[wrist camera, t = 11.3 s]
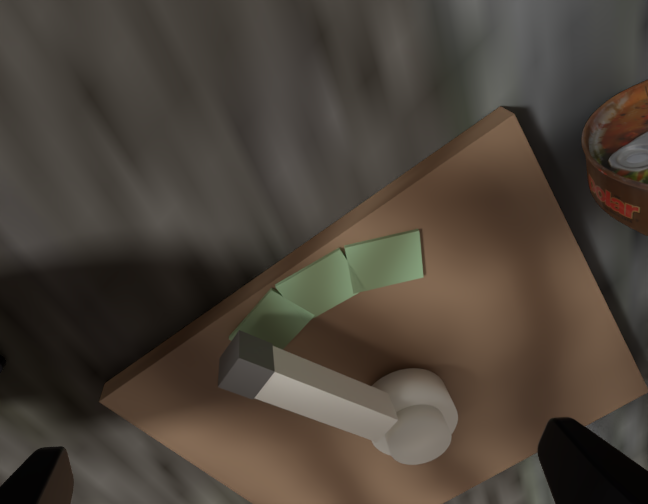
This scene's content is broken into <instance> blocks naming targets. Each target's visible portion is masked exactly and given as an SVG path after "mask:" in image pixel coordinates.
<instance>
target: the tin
mask: <svg viewBox="0 0 648 504" xmlns="http://www.w3.org/2000/svg"><path fill="white" fill-rule="evenodd" d="M581 140H582V148H583V151H584V153H585V155H586V166H587V177H588V183H589V188H590V191H591V194H592V196H593V198H594V199H595V201H596V202H597V203H598V205H599V206H600V207H601V208H602V209H603V210H604V211H605V212H606V213H608V214H609V215H610V216H612V217H613V218H614V219H616V220H618V221H619V222H621V223H623V224H625V225H627V226H628V227H630V228H632V229H634V230H636V231H638V232H640V233H642V234H644V235H646V236H648V80H646V81H644V82H641V83H639V84H637V85H634V86H632V87H630V88H628V89H626V90H624V91H622V92H620V93H618V94H617V95H615V96H614V97H612V98H611V99H609V100H608V101H607V102H605V103H604V104H603V105H601V106H600V107H599V108H598V109H597V110H596V111H595V112H594V113H593V114H592V115H591V117H590V118H589V119H588V121H587V122H586V124H585V126H584V129H583V132H582V138H581Z"/></svg>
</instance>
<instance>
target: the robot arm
mask: <svg viewBox="0 0 648 504" xmlns="http://www.w3.org/2000/svg"><path fill="white" fill-rule="evenodd" d="M5 365H6V360H5V358H4V357H3V356H2V355H0V373H1V371H2V370H3V368H4V367H5ZM537 453H538V457H539V461H540V463H541V466H542V469H543V471H544V474H545V477H546V479H547V482H548V485H549V488H550V490H551V493H552V496H553V498H554V501H555V504H648V471H647V470H646V469H644V468H643V467H641V466H640V465H638V464H637V463H636V462H634V461H633V460H631V459H630V458H629V457H627V456H626V455H624V454H623V453H622V452H620V451H619V450H617V449H616V448H614V447H613V446H612V445H610V444H609V443H607V442H606V441H605V440H603V439H602V438H600V437H599V436H598V435H596V434H595V433H593V432H592V431H590V430H589V429H588V428H586V427H585V426H583V425H582V424H581V423H579V422H578V421H576V420H575V419H573V418H570V417H556V418H551V419H550V420H549V421H548V422H547V424H546V427H545V429H544V431H543V433H542V436H541V438H540V440H539V443H538V447H537ZM73 485H74V480H73V474H72V470H71V466H70V462H69V458H68V454H67V451H66V449H65V448H64V447H44V448H40V449H38V450H36V451H35V452H34V453H33V454H32V455H31V456H30V457H29V458H28V459H27V460H26V461H25V462H24V463H23V464H22V465H21V466H20V467H19V468H18V469H17V470H16V471H15V472H14V473H13V474H12V475H11V476H10V477H9V478H8V479H7V480H6V481H5V482H4V483H3V484H2V485H1V486H0V504H70V503H71V498H72V493H73Z"/></svg>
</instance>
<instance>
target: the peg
mask: <svg viewBox="0 0 648 504" xmlns="http://www.w3.org/2000/svg"><path fill="white" fill-rule="evenodd" d="M218 387H219V388H222V389H225V390H227V391H230V392H233V393H236V394H239V395H241V396H244V397H247V398H250V399H254V398H255V399H258V400H261V401H263V402H266V403H269V404H272V405H275V406H277V407H280V408H283V409H286V410H289V411H291V412H294V413H297V414H300V415H302V416H305V417H308V418H311V419H314V420H316V421H319V422H322V423H325V424H328V425H330V426H333V427H336V428H339V429H341V430H344V431H347V432H350V433H353V434H355V435H358V436H361V437H364V438H366V439H369V440H371V441H372V443H373V445H374V446H375V447H376V448H377V449H378V450H379V451H381V452H383V453H385V454H387V455H391V456H392V457H393V459H395V460H396V461H398V462H400V463H402V464H407V465H417V464H423V463H426V462H429V461H432V460H434V459H436V458H437V457H439V456H440V455H441V454H443V453H444V452H445V451H446V450H447V448H448V447H449V445H450V443H451V437H452V436H451V434H452V433H453V432H454V430H455V428H456V425H457V422H458V413H457V410H456V407H455V405H454V403H453V401H452V399H451V397H450V395H449V393H448V391H447V389H446V387H445V385H444V383H443V381H442V379H441V378H440V377H439V376H437V375H436V374H435V373H433V372H431V371H428V370H425V369H418V368H409V369H402V370H398V371H395V372H392V373H390V374H388V375H386V376H384V377H382V378H381V379H379V380H378V381H377V382H375V383H374V384H373V385H372V386H369V385H367V384H365V383H362V382H360V381H357V380H355V379H352V378H350V377H348V376H345V375H343V374H340V373H338V372H335V371H333V370H331V369H328V368H326V367H323V366H321V365H318V364H316V363H314V362H311V361H309V360H306V359H304V358H301V357H299V356H297V355H294V354H292V353H289V352H287V351H284V350H282V349H280V348H277V347H275V346H273V344H272V343H269V342H267V341H265V340H262V339H260V338H257V337H255V336H252V335H250V334H248V333H245V332H243V331H240V330H239V331H238V332H237V334H236V335H235V337H234V338H233V340H232V341H231V342H230V344H229V345H228V347H227V348H226V349H225V351H224V352H223V354H222V355H221V357H220V358H219V375H218Z"/></svg>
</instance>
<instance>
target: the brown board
mask: <svg viewBox="0 0 648 504" xmlns="http://www.w3.org/2000/svg"><path fill="white" fill-rule="evenodd" d="M239 330H240V331H243V332H245V333H248V334H250V335H252V336H255V337H257V338H260V339H262V340H265V341H267V342H269V343H272V344H273V346H275V347H277V348H280V349H282V350H284V351H287V352H289V353H292V354H294V355H297V356H299V357H301V358H304V359H306V360H309V361H311V362H314V363H316V364H318V365H321V366H323V367H326V368H328V369H331V370H333V371H335V372H338V373H340V374H343V375H345V376H348V377H350V378H352V379H355V380H357V381H360V382H362V383H365V384H367V385H369V386H372V385H373V384H374V383H375V382H377V381H378V380H379V379H381V378H382V377H384V376H386V375H388V374H390V373H392V372H395V371H398V370H402V369H409V368H418V369H425V370H428V371H431V372H433V373H435V374H436V375H437V376H439V377H440V378H441V379H442V381H443V383H444V385H445V387H446V389H447V391H448V393H449V395H450V397H451V399H452V401H453V403H454V405H455V407H456V410H457V413H458V422H457V425H456V428H455V430H454V432H453V433H452V434H451V436H452V437H451V443H450V445H449V447H448V448H447V450H446V451H445V452H444V453H443V454H441V455H440V456H439V457H437V458H436V459H434V460H432V461H429V462H426V463H423V464H417V465H407V464H402V463H400V462H398V461H396V460H395V459H393V457H392V456H391V455H387V454H385V453H383V452H381V451H379V450H378V449H377V448H376V447H375V446H374V445H373V443H372V441H371V440H369V439H366V438H364V437H361V436H358V435H355V434H353V433H350V432H347V431H344V430H341V429H339V428H336V427H333V426H330V425H328V424H325V423H322V422H319V421H316V420H314V419H311V418H308V417H305V416H302V415H300V414H297V413H294V412H291V411H289V410H286V409H283V408H280V407H277V406H275V405H272V404H269V403H266V402H263V401H261V400H258V399H255V398H254V399H250V398H247V397H244V396H241V395H239V394H236V393H233V392H230V391H227V390H225V389H222V388H219V387H218V375H219V358H220V357H221V355H222V354H223V352H224V351H225V349H226V348H227V347H228V345H229V344H230V342H231V341H232V340H233V338H234V337H235V335H236V334H237V332H238V331H239ZM646 393H648V388H647V386H646V384H645V382H644V380H643V378H642V375H641V373H640V371H639V369H638V367H637V365H636V363H635V361H634V359H633V357H632V355H631V353H630V351H629V349H628V347H627V345H626V343H625V340H624V338H623V336H622V334H621V332H620V330H619V328H618V326H617V324H616V322H615V320H614V318H613V316H612V314H611V312H610V310H609V308H608V306H607V303H606V301H605V299H604V297H603V295H602V293H601V291H600V289H599V287H598V285H597V283H596V281H595V279H594V277H593V275H592V273H591V271H590V268H589V266H588V264H587V262H586V260H585V258H584V256H583V254H582V252H581V250H580V248H579V246H578V244H577V242H576V240H575V238H574V236H573V234H572V231H571V229H570V227H569V225H568V223H567V221H566V219H565V217H564V215H563V213H562V211H561V209H560V207H559V205H558V203H557V201H556V199H555V196H554V194H553V192H552V190H551V188H550V186H549V184H548V182H547V180H546V178H545V176H544V174H543V172H542V170H541V168H540V166H539V164H538V162H537V159H536V157H535V155H534V153H533V151H532V149H531V147H530V145H529V143H528V141H527V139H526V137H525V135H524V133H523V131H522V129H521V127H520V124H519V122H518V120H517V118H516V116H515V114H514V113H512V112H510V111H508V110H506V109H505V108H503V107H501V106H500V107H499V108H497V109H496V110H494V111H493V112H492V113H490V114H489V115H487V116H486V117H484V118H483V119H482V120H480V121H479V122H477V123H476V124H474V125H473V126H472V127H470V128H469V129H467V130H466V131H464V132H463V133H462V134H460V135H459V136H457V137H456V138H454V139H453V140H452V141H450V142H449V143H447V144H446V145H444V146H443V147H442V148H440V149H439V150H437V151H436V152H434V153H433V154H432V155H430V156H429V157H427V158H426V159H424V160H423V161H422V162H420V163H419V164H417V165H416V166H414V167H413V168H412V169H410V170H409V171H407V172H406V173H404V174H403V175H402V176H400V177H399V178H397V179H396V180H394V181H393V182H392V183H390V184H389V185H387V186H386V187H384V188H383V189H382V190H380V191H379V192H377V193H376V194H374V195H373V196H372V197H370V198H369V199H367V200H366V201H364V202H363V203H362V204H360V205H359V206H357V207H356V208H354V209H353V210H352V211H350V212H349V213H347V214H346V215H344V216H343V217H342V218H340V219H339V220H337V221H336V222H334V223H333V224H332V225H330V226H329V227H327V228H326V229H324V230H323V231H322V232H320V233H319V234H317V235H316V236H314V237H313V238H312V239H310V240H309V241H307V242H306V243H304V244H303V245H302V246H300V247H299V248H297V249H296V250H294V251H293V252H292V253H290V254H289V255H287V256H286V257H284V258H283V259H282V260H280V261H279V262H277V263H276V264H274V265H273V266H272V267H270V268H269V269H267V270H266V271H264V272H263V273H262V274H260V275H259V276H257V277H256V278H254V279H253V280H252V281H250V282H249V283H247V284H246V285H244V286H243V287H242V288H240V289H239V290H237V291H236V292H234V293H233V294H232V295H230V296H229V297H227V298H226V299H224V300H223V301H222V302H220V303H219V304H217V305H216V306H214V307H213V308H212V309H210V310H209V311H207V312H206V313H204V314H203V315H202V316H200V317H199V318H197V319H196V320H194V321H193V322H192V323H190V324H189V325H187V326H186V327H184V328H183V329H182V330H180V331H179V332H177V333H176V334H174V335H173V336H172V337H170V338H169V339H167V340H166V341H164V342H163V343H162V344H160V345H159V346H157V347H156V348H154V349H153V350H152V351H150V352H149V353H147V354H146V355H144V356H143V357H142V358H140V359H139V360H137V361H136V362H134V363H133V364H132V365H130V366H129V367H127V368H126V369H124V370H123V371H122V372H120V373H119V374H117V375H116V376H114V377H113V378H112V379H110V380H109V381H107V382H106V383H105V384H104V387H103V390H102V393H101V397H100V400H99V402H100V403H101V404H103V405H104V406H106V407H107V408H109V409H110V410H112V411H113V412H115V413H117V414H118V415H120V416H121V417H123V418H124V419H126V420H127V421H129V422H130V423H132V424H133V425H135V426H136V427H138V428H139V429H141V430H142V431H144V432H145V433H147V434H148V435H150V436H151V437H153V438H154V439H156V440H157V441H159V442H160V443H162V444H163V445H165V446H166V447H168V448H169V449H171V450H172V451H174V452H175V453H177V454H178V455H180V456H181V457H183V458H185V459H186V460H188V461H189V462H191V463H192V464H194V465H195V466H197V467H198V468H200V469H201V470H203V471H204V472H206V473H207V474H209V475H210V476H212V477H213V478H215V479H216V480H218V481H219V482H221V483H222V484H224V485H225V486H227V487H228V488H230V489H231V490H233V491H234V492H236V493H237V494H239V495H240V496H242V497H243V498H245V499H246V500H248V501H250V502H251V503H253V504H443V503H444V502H446V501H448V500H450V499H452V498H454V497H456V496H457V495H459V494H461V493H463V492H465V491H467V490H468V489H470V488H472V487H474V486H476V485H478V484H480V483H481V482H483V481H485V480H487V479H489V478H491V477H492V476H494V475H496V474H498V473H500V472H502V471H504V470H505V469H507V468H509V467H511V466H513V465H515V464H516V463H518V462H520V461H522V460H524V459H526V458H528V457H529V456H531V455H533V454H535V453H537V447H538V443H539V440H540V438H541V436H542V433H543V431H544V429H545V427H546V424H547V422H548V421H549V420H550V419H551V418H556V417H570V418H573V419H575V420H576V421H578V422H579V423H581V424H582V425H583V426H587V425H588V424H590V423H592V422H594V421H596V420H598V419H600V418H601V417H603V416H605V415H607V414H609V413H611V412H612V411H614V410H616V409H618V408H620V407H622V406H624V405H625V404H627V403H629V402H631V401H633V400H635V399H636V398H638V397H640V396H642V395H644V394H646Z"/></svg>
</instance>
